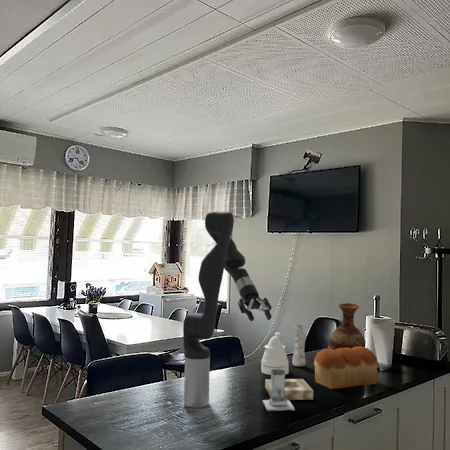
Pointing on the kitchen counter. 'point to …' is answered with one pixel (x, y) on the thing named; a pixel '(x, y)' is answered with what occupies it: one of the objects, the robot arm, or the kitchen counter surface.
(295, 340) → the plastic bottle
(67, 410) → the kitchen counter surface
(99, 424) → the kitchen counter surface
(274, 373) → the steel plug
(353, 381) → the bread
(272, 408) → the grey rubber pad
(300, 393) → the frame
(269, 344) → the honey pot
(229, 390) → the kitchen counter surface
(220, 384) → the kitchen counter surface
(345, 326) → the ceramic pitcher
